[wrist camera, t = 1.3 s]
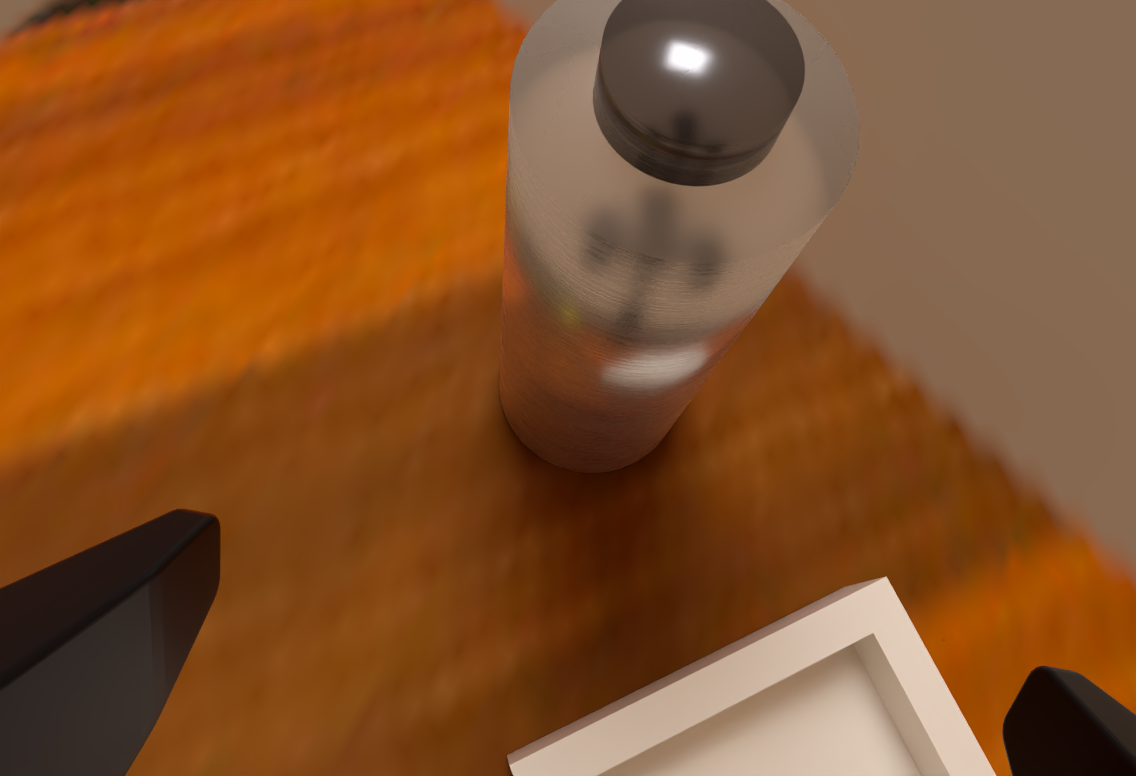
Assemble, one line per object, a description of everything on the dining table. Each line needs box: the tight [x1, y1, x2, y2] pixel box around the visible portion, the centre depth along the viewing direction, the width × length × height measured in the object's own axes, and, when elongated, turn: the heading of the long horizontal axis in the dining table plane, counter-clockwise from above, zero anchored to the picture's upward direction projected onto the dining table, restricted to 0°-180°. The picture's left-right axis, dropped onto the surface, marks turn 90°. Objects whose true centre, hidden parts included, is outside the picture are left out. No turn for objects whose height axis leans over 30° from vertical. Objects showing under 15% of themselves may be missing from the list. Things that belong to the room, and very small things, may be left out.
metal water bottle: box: [499, 0, 860, 473], centre depth 18 cm, size 5×5×14 cm
